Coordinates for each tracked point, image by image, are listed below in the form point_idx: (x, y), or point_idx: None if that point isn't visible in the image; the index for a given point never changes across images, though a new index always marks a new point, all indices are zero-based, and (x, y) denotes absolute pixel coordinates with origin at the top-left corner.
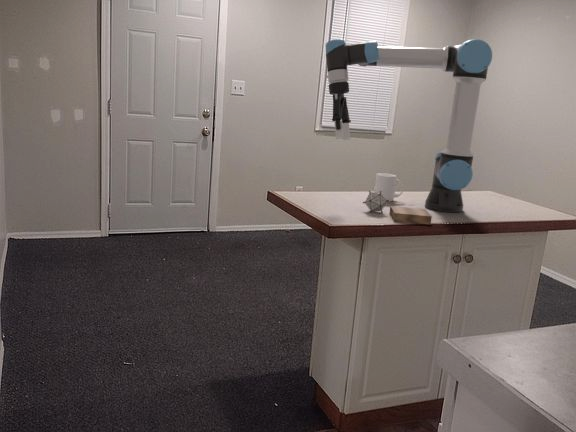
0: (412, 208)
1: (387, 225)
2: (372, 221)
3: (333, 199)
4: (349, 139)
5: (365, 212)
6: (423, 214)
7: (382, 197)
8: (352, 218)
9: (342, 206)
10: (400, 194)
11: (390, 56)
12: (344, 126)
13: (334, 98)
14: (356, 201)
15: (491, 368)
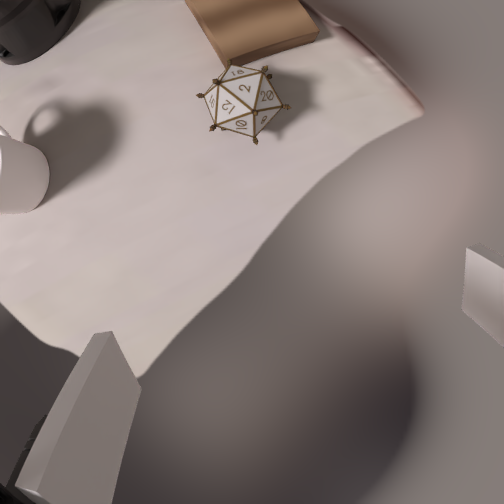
0: (205, 9)
1: (367, 48)
2: (362, 84)
3: (162, 302)
4: (107, 338)
5: (272, 130)
6: None
7: (251, 69)
8: (376, 136)
9: (247, 225)
10: (4, 129)
11: None
12: (91, 489)
13: None
14: (122, 228)
15: None
